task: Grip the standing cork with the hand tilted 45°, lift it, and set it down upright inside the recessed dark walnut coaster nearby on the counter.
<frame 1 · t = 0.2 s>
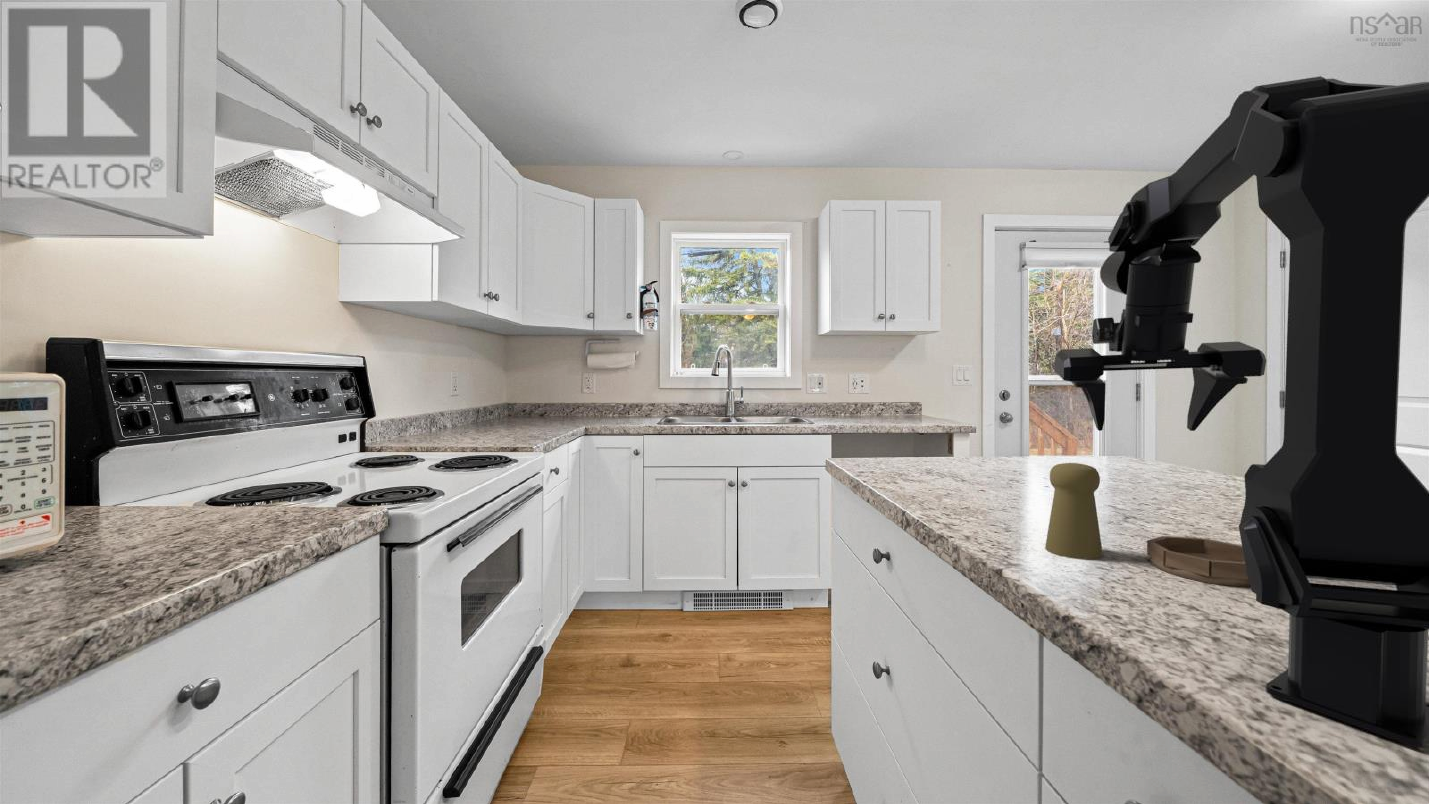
hand: (1143, 429, 66), 15 cm above the countertop, tool tilted 15°, fingers open, 9 cm apart
cork: (1073, 553, 66), on the countertop
walnut coaster: (1206, 570, 59), on the countertop
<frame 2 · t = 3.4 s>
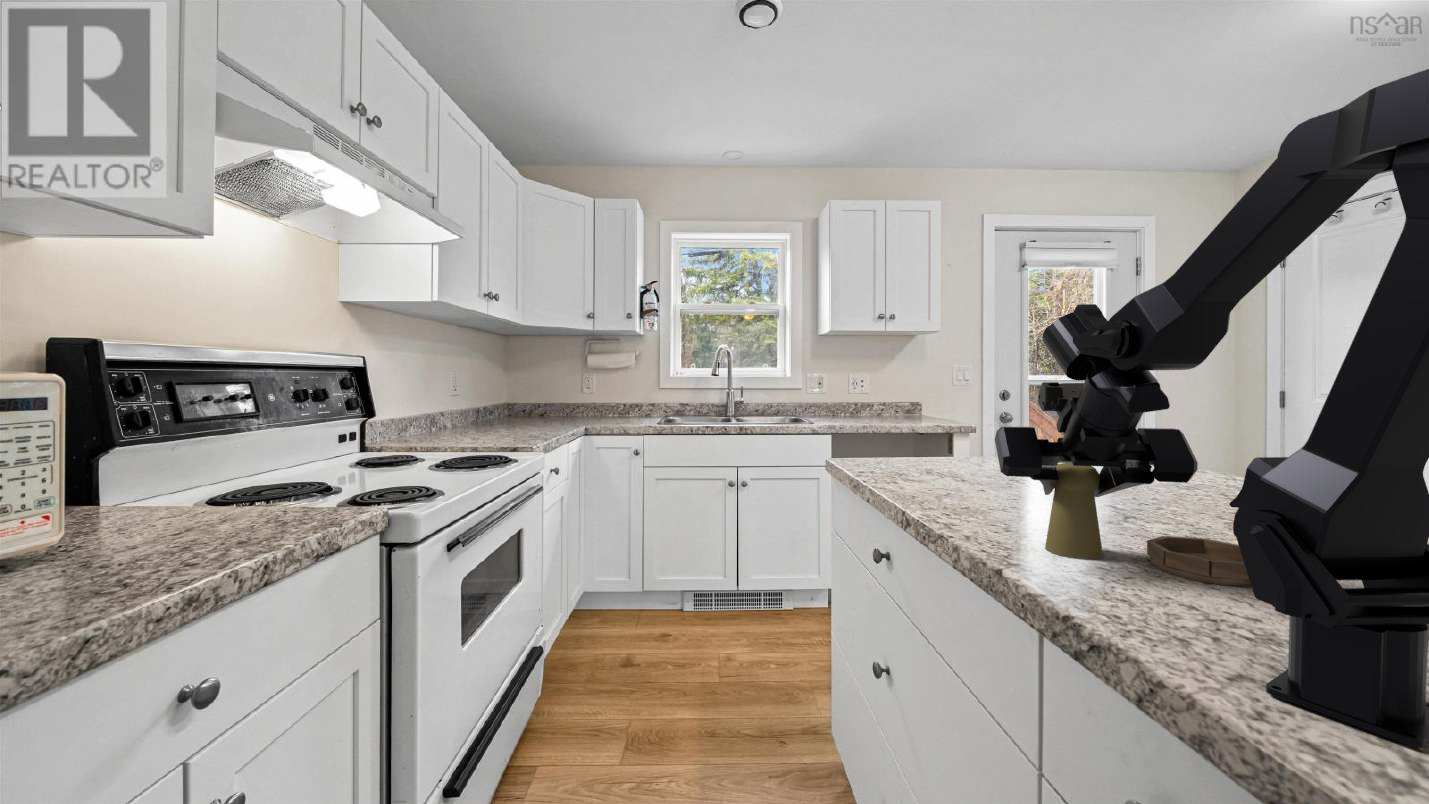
hand: (1070, 492, 68), 7 cm above the countertop, tool tilted 45°, fingers closed on cork, 5 cm apart
cork: (1073, 553, 66), on the countertop, touching gripper
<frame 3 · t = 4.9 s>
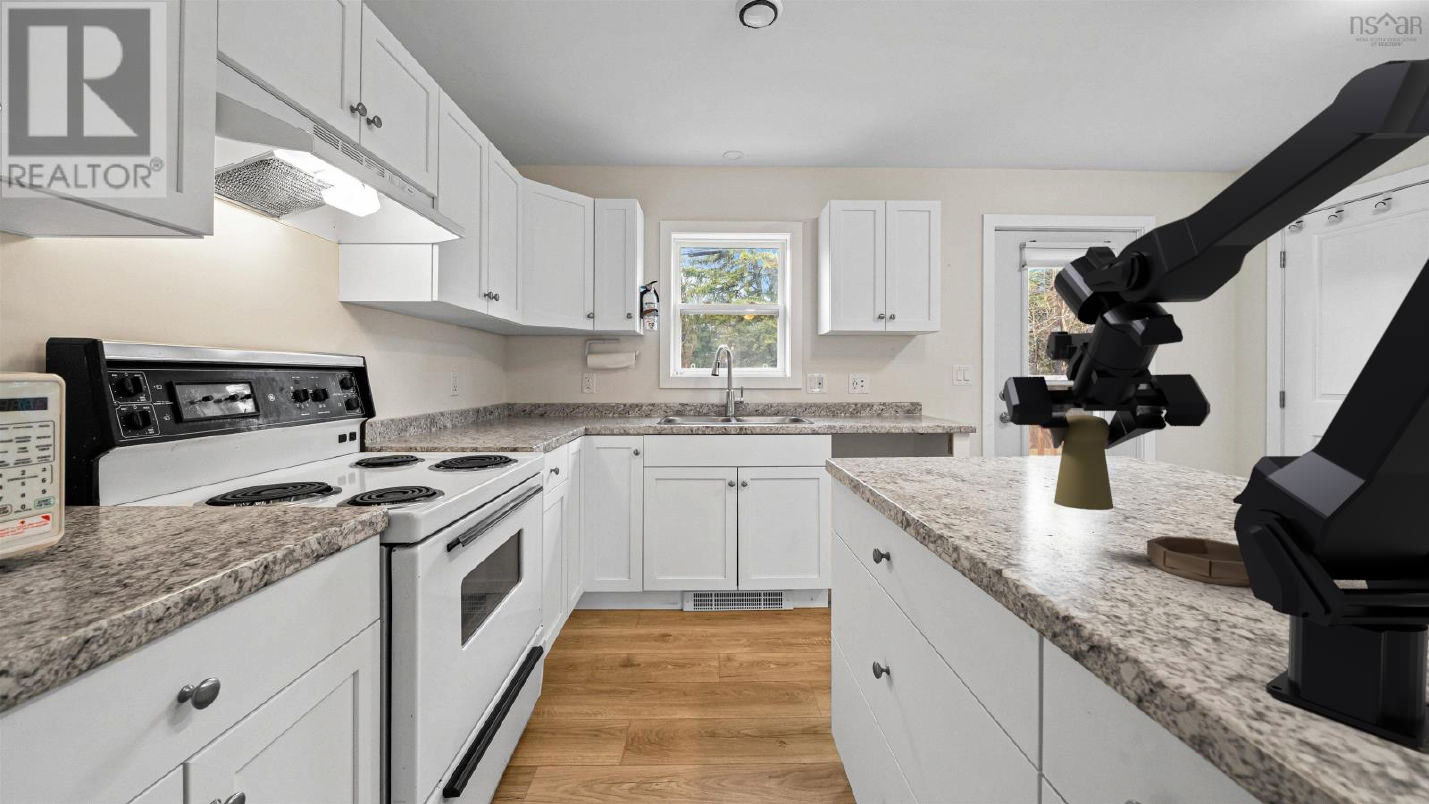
hand: (1079, 445, 67), 13 cm above the countertop, tool tilted 45°, fingers closed on cork, 5 cm apart
cork: (1082, 506, 65), point 6 cm above the countertop, touching gripper
when the fingers open (9 cm above the countertop, at t = 6.7 s): cork drops 1 cm, resting on walnut coaster.
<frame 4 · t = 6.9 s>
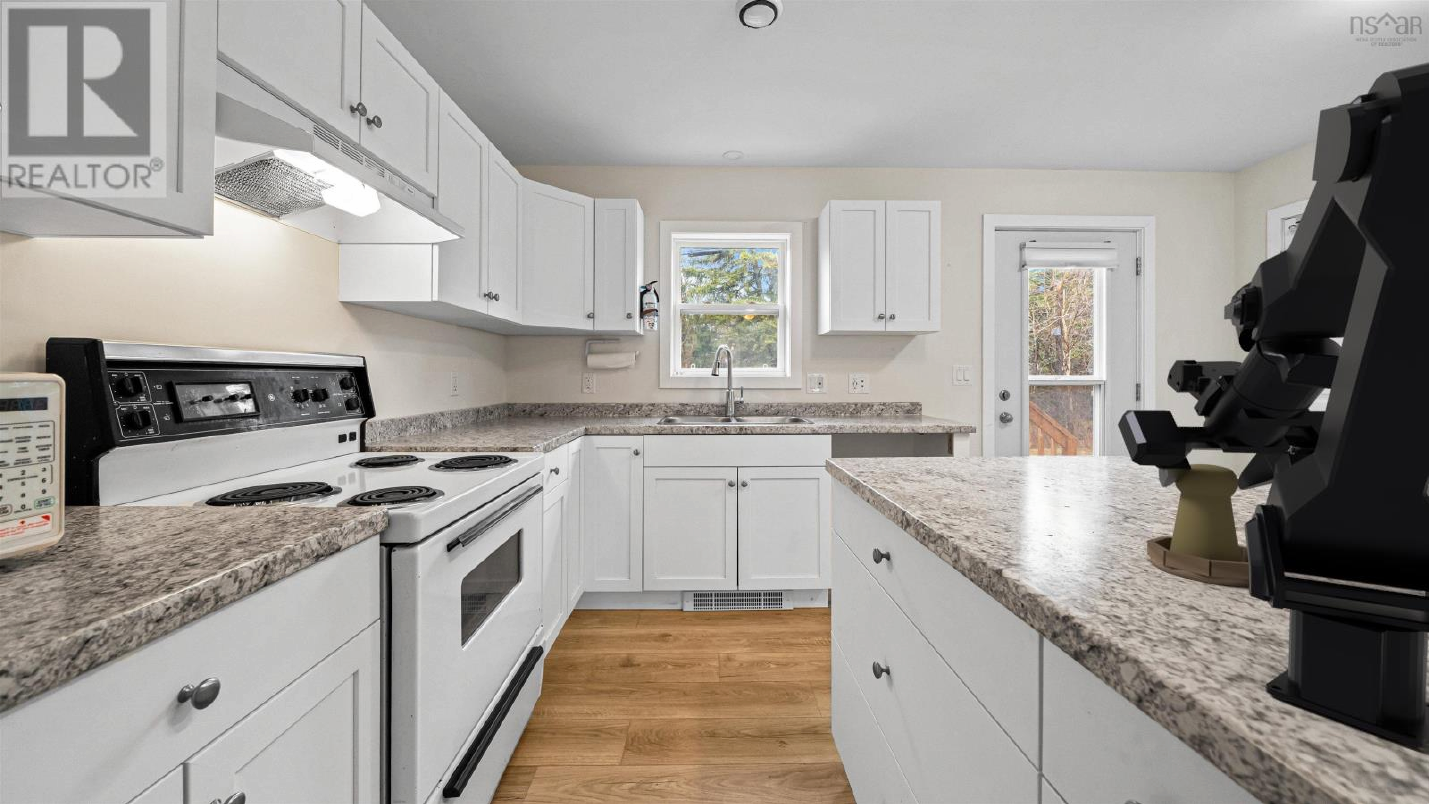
hand: (1200, 484, 60), 9 cm above the countertop, tool tilted 45°, fingers open, 7 cm apart
cork: (1203, 564, 59), point 1 cm above the countertop, touching walnut coaster
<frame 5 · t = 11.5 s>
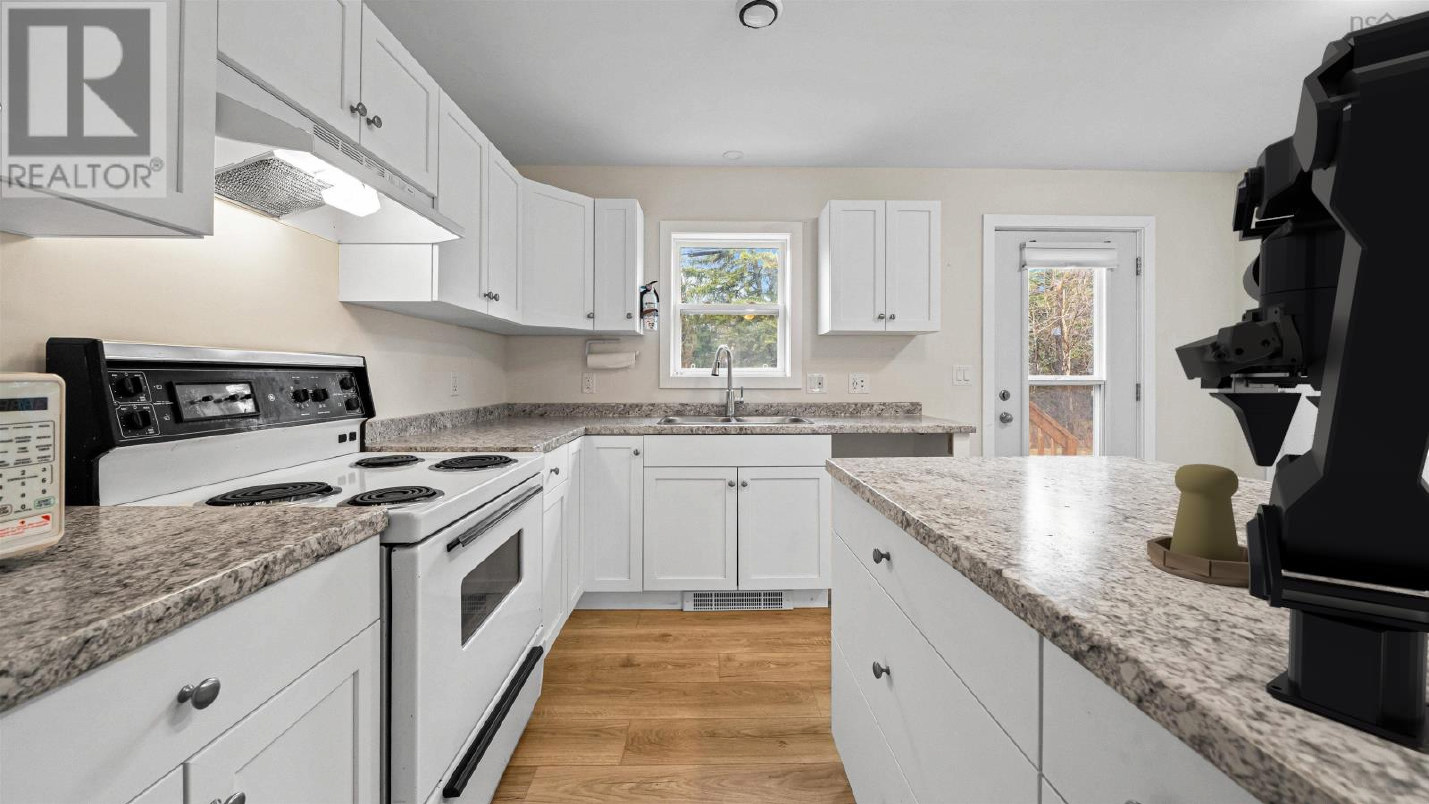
hand: (1301, 474, 46), 13 cm above the countertop, tool pointing down, fingers open, 9 cm apart
nothing on the countertop moved.
at the end: cork 0.2 cm off-centre on the walnut coaster, point 0.6 cm above the walnut coaster's base; cork tilted 0°; the gripper is holding nothing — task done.
